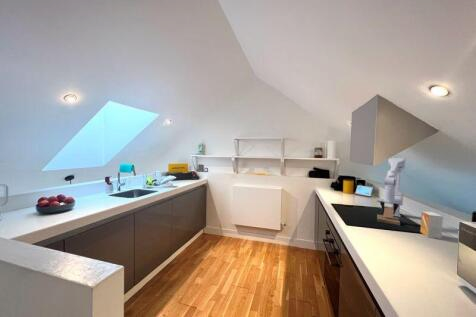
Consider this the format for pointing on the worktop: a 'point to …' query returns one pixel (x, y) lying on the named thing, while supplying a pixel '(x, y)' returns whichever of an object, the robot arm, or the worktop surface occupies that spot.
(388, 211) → the terracotta block
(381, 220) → the tan board
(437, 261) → the worktop surface
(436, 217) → the small box
